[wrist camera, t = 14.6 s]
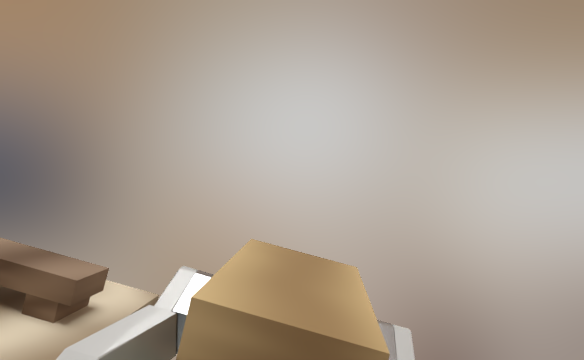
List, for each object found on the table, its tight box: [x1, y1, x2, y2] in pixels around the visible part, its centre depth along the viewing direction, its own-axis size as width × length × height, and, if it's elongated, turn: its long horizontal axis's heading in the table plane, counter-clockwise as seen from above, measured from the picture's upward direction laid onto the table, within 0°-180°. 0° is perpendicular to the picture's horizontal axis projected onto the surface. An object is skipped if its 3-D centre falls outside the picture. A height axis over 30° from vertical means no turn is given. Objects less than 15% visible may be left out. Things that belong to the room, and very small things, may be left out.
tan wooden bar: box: [176, 239, 390, 360], centre depth 15 cm, size 4×17×4 cm, turn 176°
